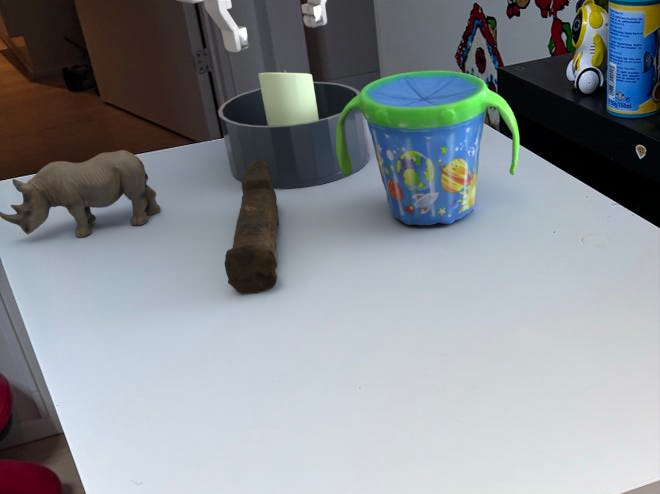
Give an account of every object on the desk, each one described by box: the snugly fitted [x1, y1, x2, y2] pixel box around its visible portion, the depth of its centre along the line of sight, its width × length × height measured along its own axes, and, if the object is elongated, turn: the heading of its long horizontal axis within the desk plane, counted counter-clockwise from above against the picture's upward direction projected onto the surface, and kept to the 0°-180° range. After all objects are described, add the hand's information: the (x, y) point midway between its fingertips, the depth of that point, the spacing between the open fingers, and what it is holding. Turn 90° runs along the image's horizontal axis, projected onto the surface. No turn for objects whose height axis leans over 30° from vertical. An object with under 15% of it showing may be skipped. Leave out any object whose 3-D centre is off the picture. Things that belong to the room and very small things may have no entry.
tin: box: [217, 81, 370, 190], centre depth 100 cm, size 14×14×6 cm
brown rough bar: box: [224, 160, 280, 295], centre depth 86 cm, size 19×4×5 cm, turn 3°
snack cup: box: [336, 70, 520, 226], centre depth 87 cm, size 16×10×10 cm
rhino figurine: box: [0, 149, 162, 238], centre depth 90 cm, size 4×14×6 cm, turn 114°
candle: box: [257, 69, 319, 126], centre depth 99 cm, size 5×5×8 cm
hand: (278, 37), depth 95 cm, fingers open, 8 cm apart
